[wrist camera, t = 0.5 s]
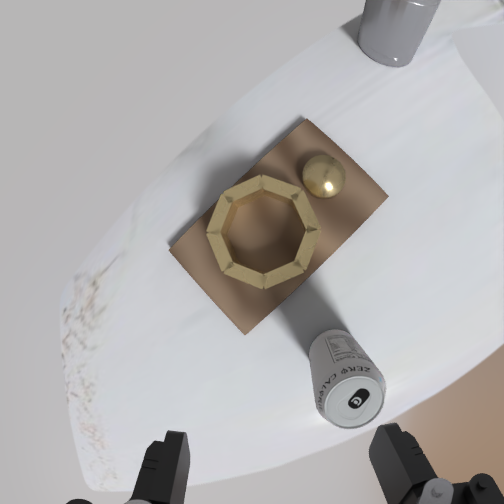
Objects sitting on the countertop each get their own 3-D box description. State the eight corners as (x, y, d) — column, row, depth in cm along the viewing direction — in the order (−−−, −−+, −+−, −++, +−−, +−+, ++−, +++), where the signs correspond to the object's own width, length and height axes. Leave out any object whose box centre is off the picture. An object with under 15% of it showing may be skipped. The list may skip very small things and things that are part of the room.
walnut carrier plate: (306, 122, 36) (306, 118, 35) (386, 198, 34) (388, 196, 33) (172, 250, 38) (168, 250, 37) (246, 333, 36) (244, 335, 35)
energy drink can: (298, 356, 35) (300, 413, 20) (328, 318, 35) (351, 353, 20) (336, 382, 34) (356, 445, 20) (366, 344, 34) (406, 391, 19)
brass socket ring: (255, 135, 36) (251, 123, 32) (349, 168, 34) (354, 158, 31) (203, 261, 36) (194, 261, 33) (300, 300, 34) (300, 304, 31)
